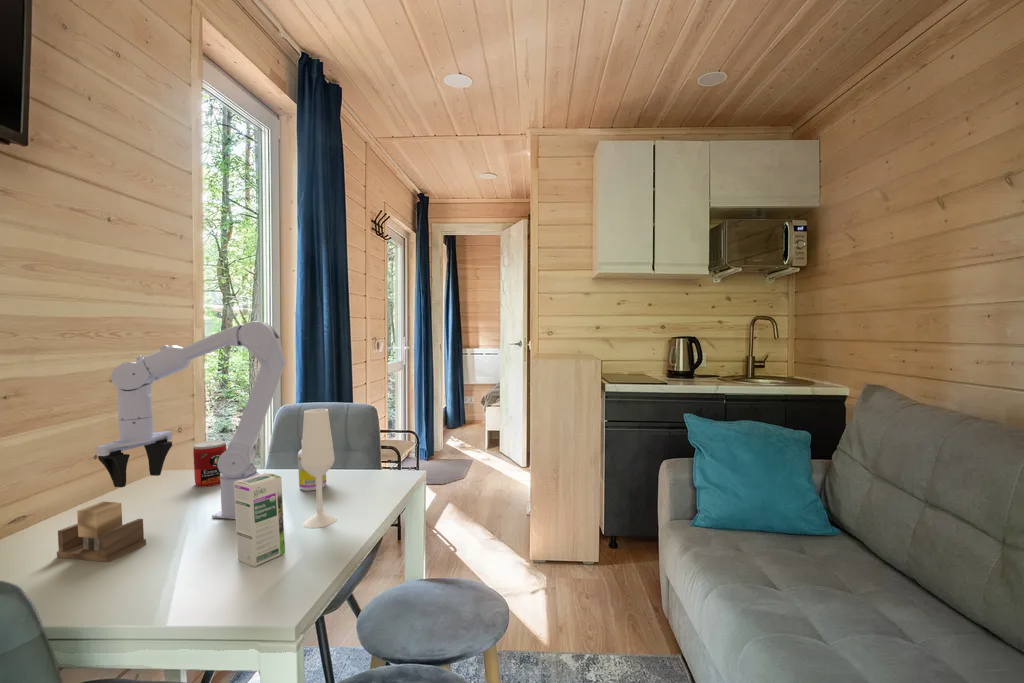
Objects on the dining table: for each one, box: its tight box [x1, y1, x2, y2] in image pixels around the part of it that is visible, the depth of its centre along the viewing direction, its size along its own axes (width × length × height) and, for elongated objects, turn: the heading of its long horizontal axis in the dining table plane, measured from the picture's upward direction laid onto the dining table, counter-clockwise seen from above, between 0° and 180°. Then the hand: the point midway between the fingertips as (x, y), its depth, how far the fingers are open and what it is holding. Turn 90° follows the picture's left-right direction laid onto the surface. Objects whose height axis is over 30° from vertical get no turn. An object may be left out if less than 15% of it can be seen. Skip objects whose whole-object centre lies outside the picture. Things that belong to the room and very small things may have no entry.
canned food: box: [192, 439, 227, 488], centre depth 128 cm, size 8×8×11 cm
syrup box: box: [234, 472, 286, 568], centre depth 83 cm, size 6×6×14 cm
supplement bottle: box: [297, 439, 327, 492], centre depth 122 cm, size 7×7×13 cm
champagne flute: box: [301, 408, 337, 529], centre depth 99 cm, size 7×7×24 cm
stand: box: [56, 518, 147, 563], centre depth 88 cm, size 12×7×5 cm, turn 78°
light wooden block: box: [76, 501, 123, 538], centre depth 88 cm, size 4×4×5 cm
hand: (138, 480), depth 99 cm, fingers open, 7 cm apart
